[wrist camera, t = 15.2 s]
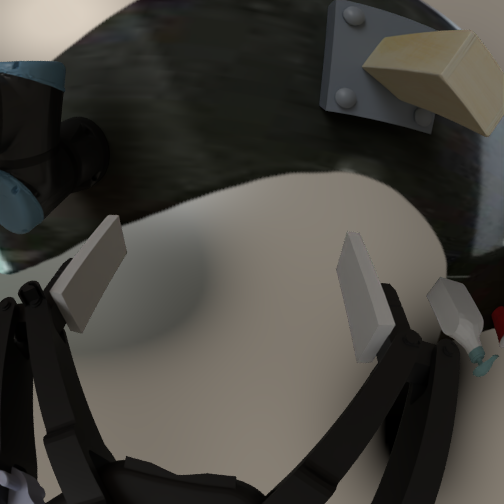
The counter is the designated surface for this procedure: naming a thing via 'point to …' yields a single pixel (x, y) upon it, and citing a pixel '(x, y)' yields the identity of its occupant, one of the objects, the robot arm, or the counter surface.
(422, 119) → the base brick
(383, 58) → the toy refrigerator
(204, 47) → the counter surface
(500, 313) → the plastic cup
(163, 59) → the counter surface
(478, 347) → the white spray bottle
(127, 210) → the counter surface
